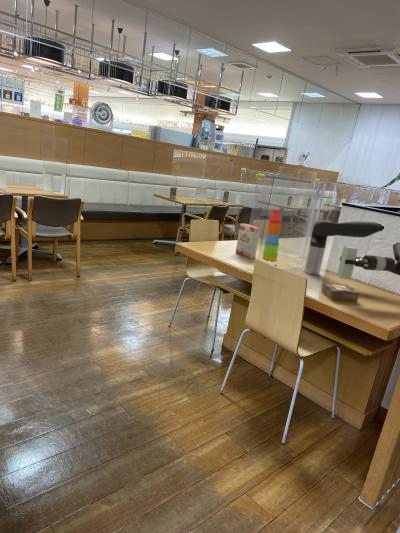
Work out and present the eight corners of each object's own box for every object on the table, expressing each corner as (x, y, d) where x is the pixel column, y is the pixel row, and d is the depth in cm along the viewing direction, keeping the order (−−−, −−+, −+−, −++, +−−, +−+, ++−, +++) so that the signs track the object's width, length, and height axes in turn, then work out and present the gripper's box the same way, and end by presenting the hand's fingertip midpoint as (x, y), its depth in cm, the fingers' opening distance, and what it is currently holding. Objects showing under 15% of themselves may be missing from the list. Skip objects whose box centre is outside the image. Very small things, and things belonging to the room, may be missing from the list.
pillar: (336, 275, 200) (343, 245, 196) (346, 276, 201) (353, 246, 196) (341, 278, 195) (348, 247, 191) (350, 279, 196) (357, 248, 192)
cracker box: (234, 253, 265) (239, 223, 260) (241, 252, 269) (246, 223, 263) (248, 258, 255) (254, 227, 249) (255, 258, 259) (260, 227, 253)
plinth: (321, 291, 206) (323, 282, 204) (345, 293, 208) (348, 284, 206) (330, 300, 194) (333, 290, 193) (356, 302, 196) (359, 292, 195)
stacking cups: (273, 267, 241) (283, 212, 231) (258, 263, 245) (267, 209, 236) (279, 265, 249) (289, 211, 240) (264, 261, 254) (273, 209, 245)
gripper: (368, 252, 203) (337, 249, 201) (383, 259, 190) (351, 256, 187) (364, 266, 205) (334, 263, 203) (379, 274, 192) (347, 271, 189)
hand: (342, 260), depth 195 cm, fingers closed on pillar, 5 cm apart
